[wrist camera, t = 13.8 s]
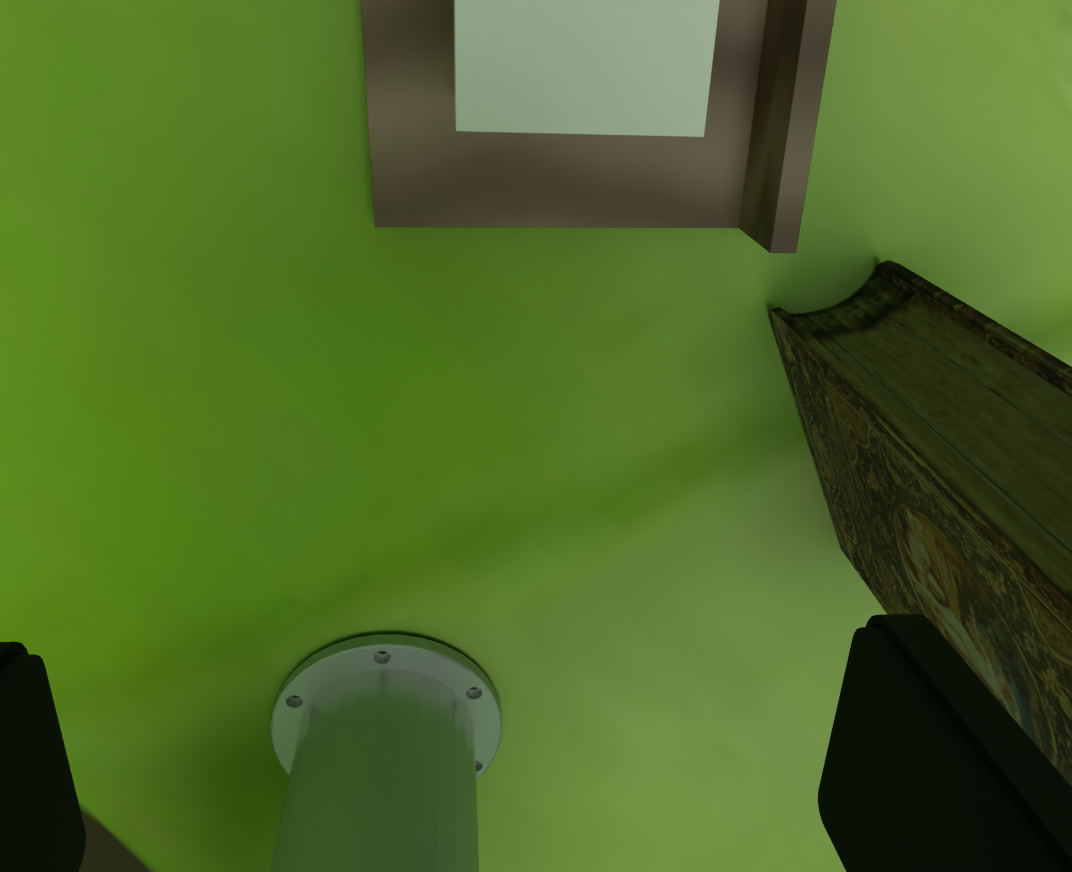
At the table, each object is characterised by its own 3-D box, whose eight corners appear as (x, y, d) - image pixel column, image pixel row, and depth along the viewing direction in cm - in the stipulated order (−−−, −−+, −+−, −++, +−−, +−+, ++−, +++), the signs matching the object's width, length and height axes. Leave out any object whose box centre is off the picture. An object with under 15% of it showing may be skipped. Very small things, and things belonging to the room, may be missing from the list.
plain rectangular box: (636, 100, 33) (703, 136, 24) (454, 95, 33) (455, 131, 24) (645, -17, 32) (722, -23, 23) (453, -25, 31) (454, -34, 22)
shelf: (750, 219, 37) (816, 267, 31) (377, 218, 36) (360, 268, 29) (803, -171, 31) (899, -217, 24) (353, -192, 30) (325, -246, 23)
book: (944, 528, 46) (1406, 1024, 24) (846, 566, 47) (1208, 1085, 24) (878, 251, 39) (1460, 594, 16) (763, 300, 39) (1172, 696, 17)
